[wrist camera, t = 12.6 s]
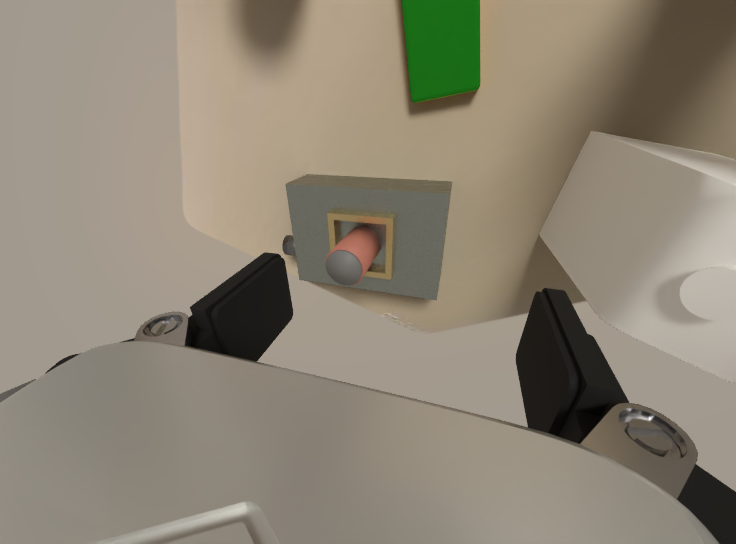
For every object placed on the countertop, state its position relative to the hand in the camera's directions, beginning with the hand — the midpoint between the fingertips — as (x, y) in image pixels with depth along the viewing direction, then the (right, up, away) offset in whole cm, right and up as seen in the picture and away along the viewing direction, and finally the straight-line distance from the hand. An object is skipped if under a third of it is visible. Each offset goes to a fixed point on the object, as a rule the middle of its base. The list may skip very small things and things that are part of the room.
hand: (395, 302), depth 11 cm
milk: (+27, +9, +22) cm, 36 cm away
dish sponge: (+7, +27, +19) cm, 34 cm away
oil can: (-2, +5, +27) cm, 27 cm away
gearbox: (-1, +8, +32) cm, 33 cm away
